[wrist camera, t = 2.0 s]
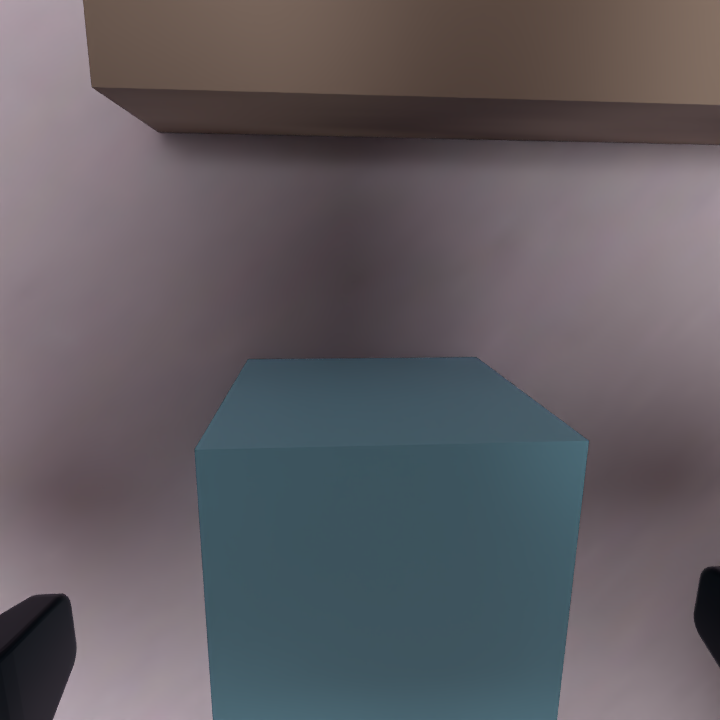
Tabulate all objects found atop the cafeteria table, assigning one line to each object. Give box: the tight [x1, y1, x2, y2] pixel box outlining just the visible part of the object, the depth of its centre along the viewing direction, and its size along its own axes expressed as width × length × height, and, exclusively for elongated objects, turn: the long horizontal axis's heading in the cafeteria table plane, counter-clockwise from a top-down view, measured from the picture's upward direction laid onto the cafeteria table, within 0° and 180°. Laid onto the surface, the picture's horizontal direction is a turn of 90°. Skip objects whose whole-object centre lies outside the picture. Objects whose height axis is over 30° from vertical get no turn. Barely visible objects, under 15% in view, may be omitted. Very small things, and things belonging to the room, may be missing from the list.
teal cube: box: [195, 357, 589, 720], centre depth 10 cm, size 5×5×5 cm
